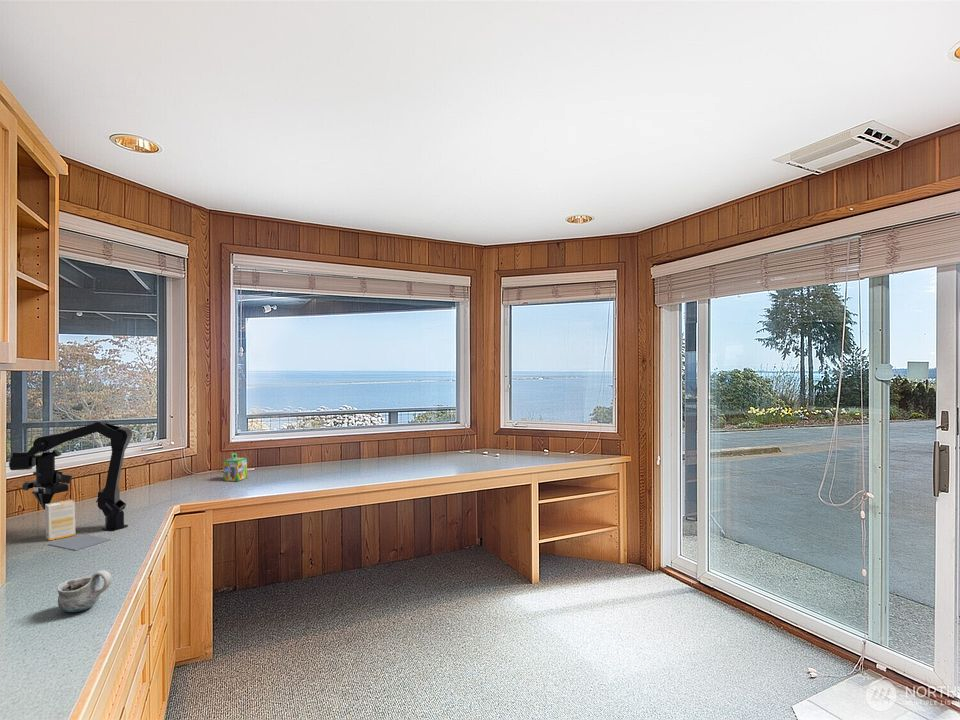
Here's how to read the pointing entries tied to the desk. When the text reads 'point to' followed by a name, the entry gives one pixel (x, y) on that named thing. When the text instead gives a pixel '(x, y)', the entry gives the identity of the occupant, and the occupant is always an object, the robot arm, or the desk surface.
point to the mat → (79, 542)
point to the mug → (82, 592)
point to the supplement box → (60, 519)
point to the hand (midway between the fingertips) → (45, 509)
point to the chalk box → (234, 468)
